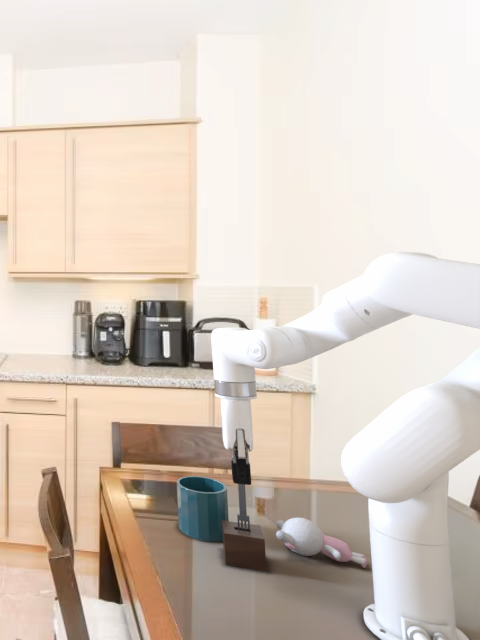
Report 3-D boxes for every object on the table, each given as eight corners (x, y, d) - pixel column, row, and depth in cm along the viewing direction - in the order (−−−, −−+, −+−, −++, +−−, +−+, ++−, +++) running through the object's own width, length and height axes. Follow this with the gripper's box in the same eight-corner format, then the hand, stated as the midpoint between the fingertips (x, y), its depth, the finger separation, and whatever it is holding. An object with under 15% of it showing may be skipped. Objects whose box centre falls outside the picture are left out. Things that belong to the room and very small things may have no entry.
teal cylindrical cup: (231, 544, 107) (228, 496, 108) (178, 536, 111) (176, 489, 112) (227, 524, 117) (225, 479, 117) (179, 517, 121) (177, 473, 121)
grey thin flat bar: (250, 543, 100) (246, 459, 102) (238, 541, 101) (234, 458, 102) (250, 541, 101) (245, 458, 102) (238, 539, 102) (234, 457, 103)
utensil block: (266, 571, 97) (264, 539, 97) (225, 564, 100) (223, 533, 100) (262, 556, 103) (260, 525, 103) (223, 550, 105) (221, 520, 106)
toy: (351, 572, 103) (270, 529, 110) (365, 542, 102) (282, 500, 109) (359, 594, 96) (271, 546, 103) (374, 562, 95) (284, 515, 102)
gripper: (212, 382, 112) (218, 468, 110) (216, 395, 98) (223, 494, 96) (251, 383, 109) (258, 472, 107) (261, 397, 95) (269, 499, 93)
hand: (241, 482), depth 102 cm, fingers closed
